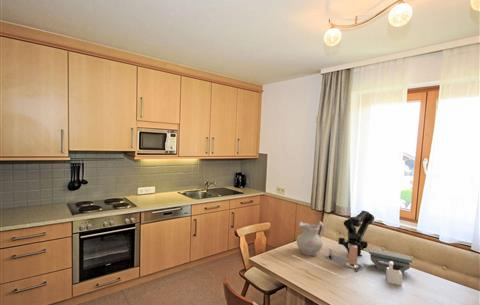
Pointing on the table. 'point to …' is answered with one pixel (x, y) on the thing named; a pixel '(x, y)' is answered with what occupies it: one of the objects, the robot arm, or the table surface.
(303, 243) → the ceramic pitcher
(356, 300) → the table surface
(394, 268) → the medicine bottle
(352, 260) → the post
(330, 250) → the steel pin
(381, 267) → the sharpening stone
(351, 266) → the drilled plate
